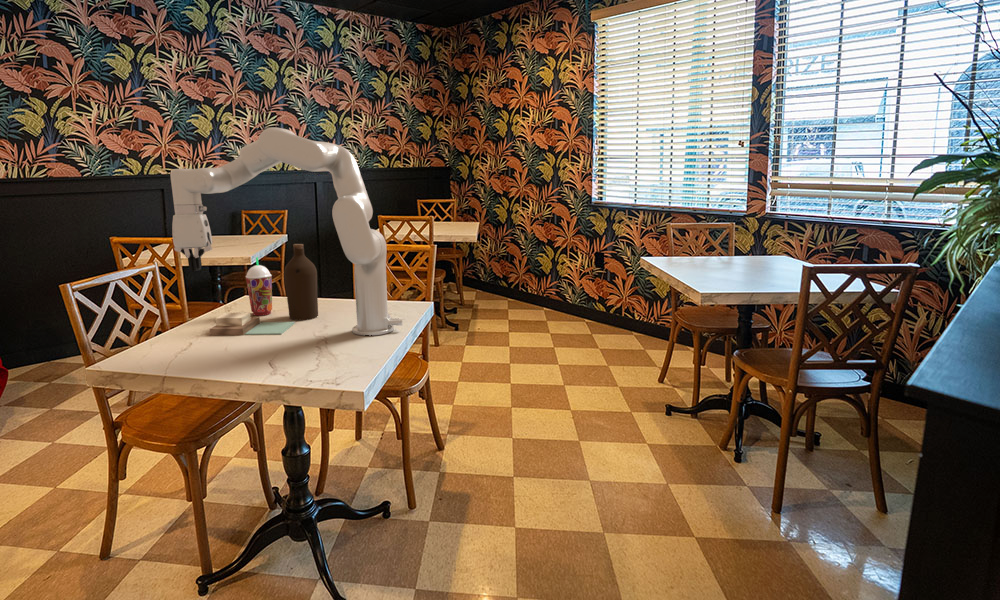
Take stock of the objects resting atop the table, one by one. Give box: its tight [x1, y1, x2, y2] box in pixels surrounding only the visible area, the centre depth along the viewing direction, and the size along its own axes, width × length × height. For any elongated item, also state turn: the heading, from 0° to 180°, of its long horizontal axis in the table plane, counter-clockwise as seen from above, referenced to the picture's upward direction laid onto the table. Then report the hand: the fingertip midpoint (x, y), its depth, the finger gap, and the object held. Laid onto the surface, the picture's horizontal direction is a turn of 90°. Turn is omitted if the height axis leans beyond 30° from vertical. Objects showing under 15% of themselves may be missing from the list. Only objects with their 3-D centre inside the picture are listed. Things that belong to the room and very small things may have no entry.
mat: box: [244, 321, 296, 336], centre depth 189 cm, size 11×14×1 cm
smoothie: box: [245, 256, 273, 317], centre depth 206 cm, size 8×8×20 cm
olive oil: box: [283, 243, 319, 321], centre depth 201 cm, size 11×11×25 cm
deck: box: [209, 316, 261, 336], centre depth 189 cm, size 10×14×2 cm
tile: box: [215, 312, 252, 326], centre depth 188 cm, size 8×7×2 cm
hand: (195, 269), depth 184 cm, fingers closed
